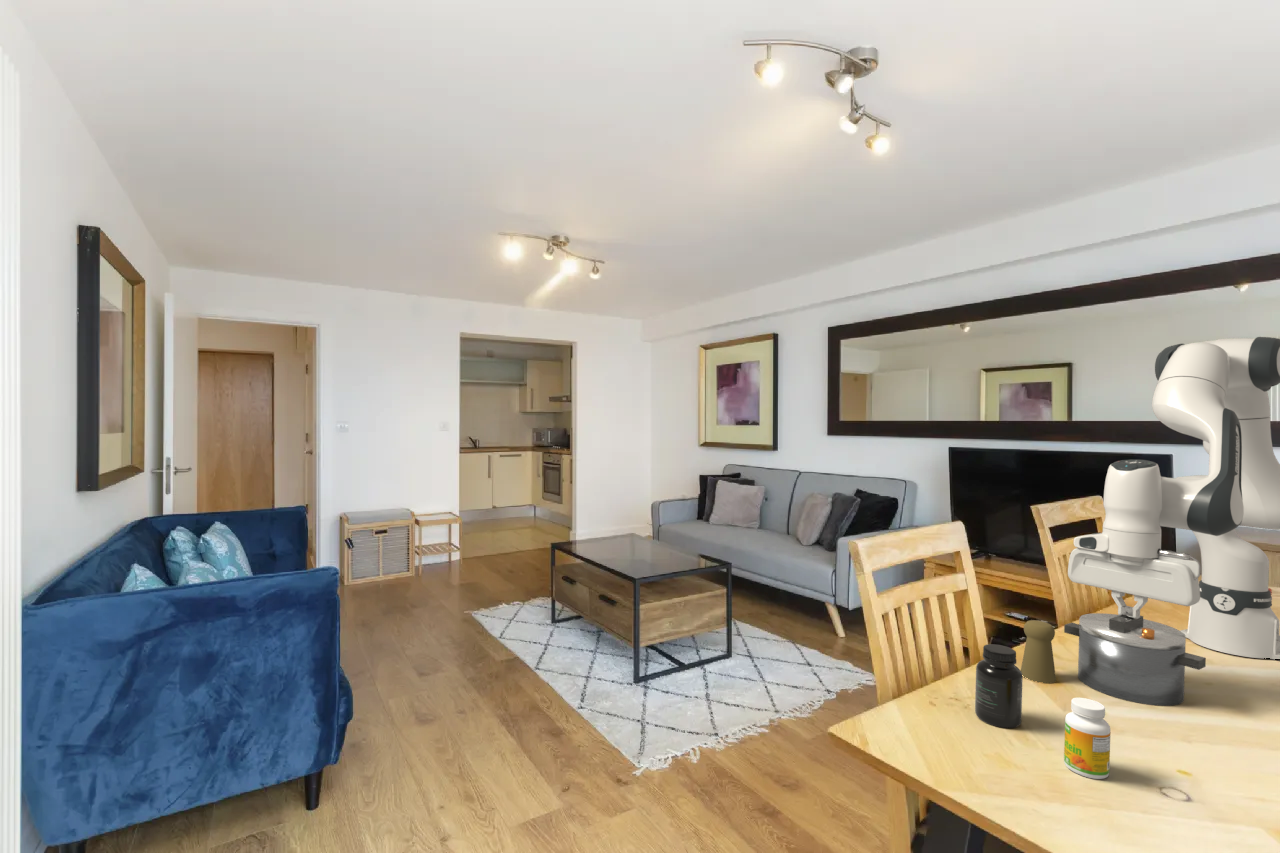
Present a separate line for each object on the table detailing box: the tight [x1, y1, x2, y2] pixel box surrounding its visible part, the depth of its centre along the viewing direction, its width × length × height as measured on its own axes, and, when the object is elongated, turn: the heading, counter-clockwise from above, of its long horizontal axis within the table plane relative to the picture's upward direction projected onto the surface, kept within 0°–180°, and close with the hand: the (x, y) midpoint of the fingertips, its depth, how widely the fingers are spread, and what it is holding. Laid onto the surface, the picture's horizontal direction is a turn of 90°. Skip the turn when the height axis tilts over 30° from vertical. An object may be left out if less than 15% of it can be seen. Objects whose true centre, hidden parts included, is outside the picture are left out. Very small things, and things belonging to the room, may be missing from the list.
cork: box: [1020, 619, 1057, 684], centre depth 123 cm, size 6×6×11 cm
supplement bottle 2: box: [1063, 697, 1111, 780], centre depth 90 cm, size 5×5×10 cm
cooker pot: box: [1063, 622, 1207, 707], centre depth 119 cm, size 16×22×10 cm
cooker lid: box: [1078, 612, 1187, 650], centre depth 119 cm, size 16×16×4 cm
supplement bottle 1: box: [974, 643, 1024, 729], centre depth 105 cm, size 7×7×12 cm
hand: (1128, 616), depth 119 cm, fingers closed, pressing on cooker lid
